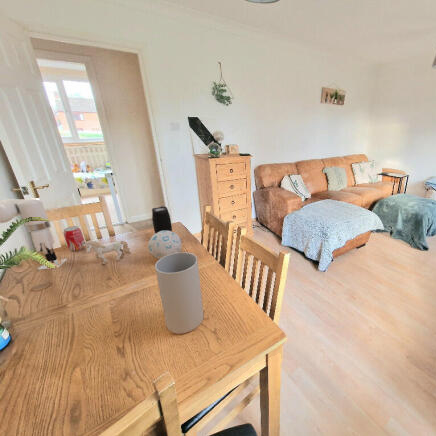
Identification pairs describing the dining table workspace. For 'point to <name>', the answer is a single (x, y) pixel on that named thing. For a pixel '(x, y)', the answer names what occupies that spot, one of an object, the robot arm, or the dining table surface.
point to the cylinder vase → (180, 291)
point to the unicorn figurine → (106, 249)
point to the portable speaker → (161, 219)
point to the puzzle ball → (164, 244)
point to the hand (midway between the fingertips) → (52, 260)
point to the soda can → (74, 238)
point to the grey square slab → (52, 262)
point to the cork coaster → (41, 286)
